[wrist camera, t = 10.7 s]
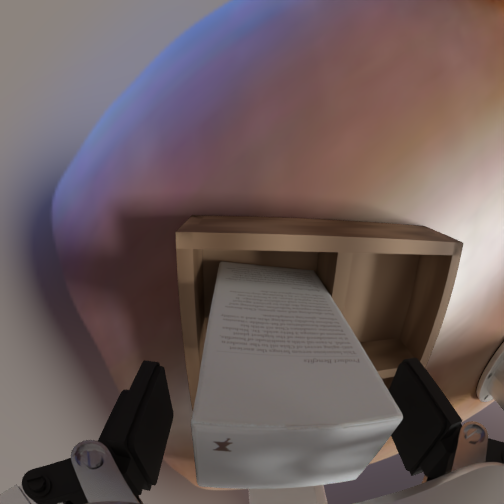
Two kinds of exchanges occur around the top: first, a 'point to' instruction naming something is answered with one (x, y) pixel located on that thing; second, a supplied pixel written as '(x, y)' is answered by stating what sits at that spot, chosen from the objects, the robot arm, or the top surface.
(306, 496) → the milk
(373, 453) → the skincare box
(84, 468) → the robot arm
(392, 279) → the walnut caddy
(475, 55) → the top surface
